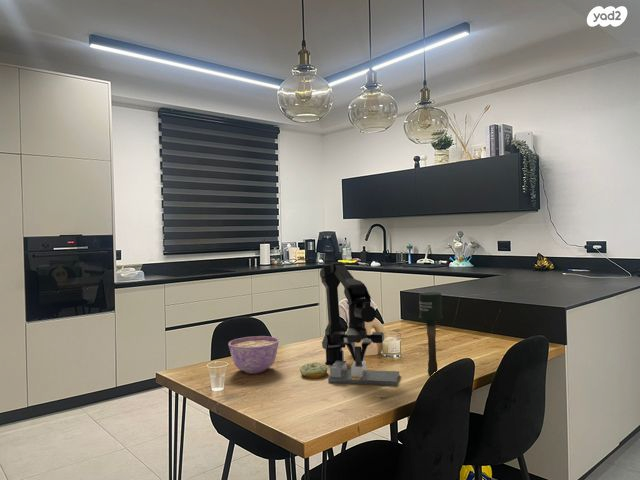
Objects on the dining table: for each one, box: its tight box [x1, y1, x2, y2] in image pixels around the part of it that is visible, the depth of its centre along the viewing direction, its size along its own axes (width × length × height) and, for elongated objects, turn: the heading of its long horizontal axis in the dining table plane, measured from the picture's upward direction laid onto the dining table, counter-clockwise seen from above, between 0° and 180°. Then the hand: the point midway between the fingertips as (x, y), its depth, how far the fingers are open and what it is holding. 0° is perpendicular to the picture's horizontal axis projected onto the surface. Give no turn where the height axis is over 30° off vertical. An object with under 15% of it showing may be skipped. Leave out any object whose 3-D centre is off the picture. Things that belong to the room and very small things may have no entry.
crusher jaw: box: [350, 345, 367, 378], centre depth 172 cm, size 4×8×10 cm, turn 165°
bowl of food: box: [228, 335, 280, 374], centre depth 189 cm, size 20×20×12 cm
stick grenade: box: [418, 291, 444, 377], centre depth 173 cm, size 8×9×30 cm
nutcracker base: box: [327, 360, 400, 387], centre depth 172 cm, size 24×12×5 cm, turn 75°
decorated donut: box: [299, 362, 328, 379], centre depth 180 cm, size 10×11×4 cm
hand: (358, 360), depth 172 cm, fingers closed on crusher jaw, 2 cm apart
